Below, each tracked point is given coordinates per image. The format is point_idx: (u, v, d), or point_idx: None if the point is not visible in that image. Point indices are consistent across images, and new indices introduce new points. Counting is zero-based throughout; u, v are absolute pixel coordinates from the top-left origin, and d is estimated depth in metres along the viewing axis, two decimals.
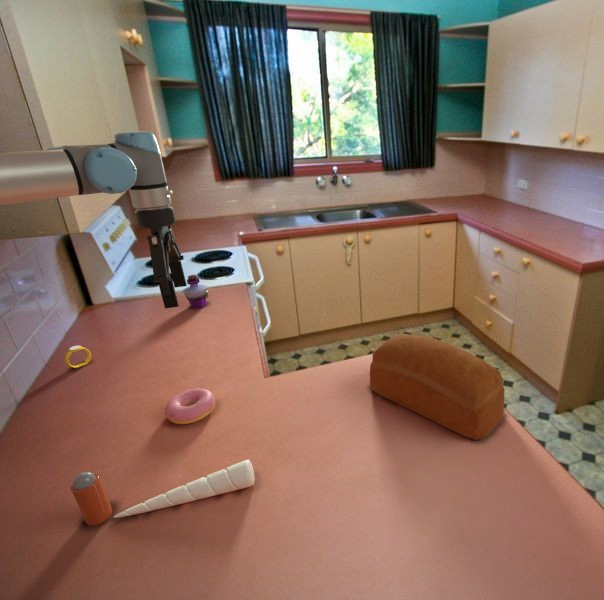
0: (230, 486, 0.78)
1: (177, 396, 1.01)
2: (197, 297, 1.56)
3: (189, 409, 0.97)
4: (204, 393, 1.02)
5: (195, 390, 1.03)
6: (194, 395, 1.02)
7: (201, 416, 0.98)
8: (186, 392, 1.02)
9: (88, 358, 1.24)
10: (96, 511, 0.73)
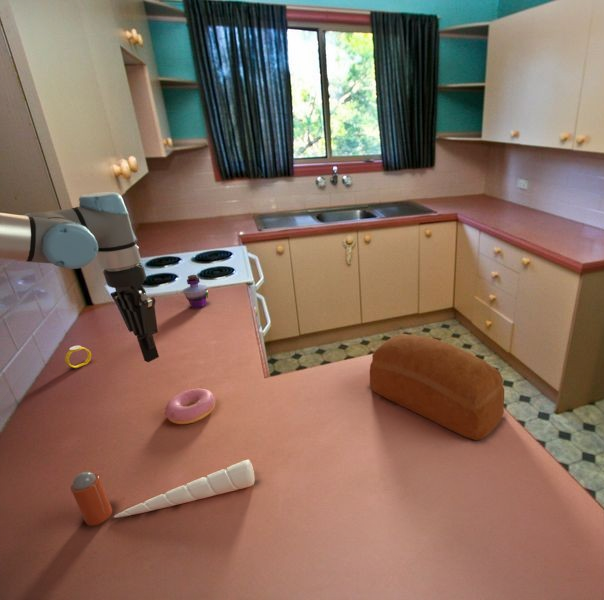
0: (230, 486, 0.78)
1: (177, 396, 1.01)
2: (197, 297, 1.56)
3: (189, 409, 0.97)
4: (204, 393, 1.02)
5: (195, 390, 1.03)
6: (194, 395, 1.02)
7: (201, 416, 0.98)
8: (186, 392, 1.02)
9: (88, 358, 1.24)
10: (96, 511, 0.73)
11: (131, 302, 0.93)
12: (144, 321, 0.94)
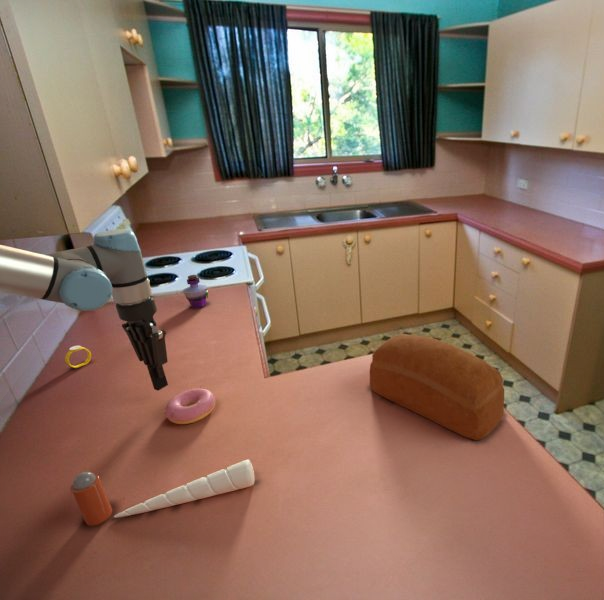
0: (230, 486, 0.78)
1: (177, 396, 1.01)
2: (197, 297, 1.56)
3: (189, 409, 0.96)
4: (204, 393, 1.02)
5: (195, 390, 1.03)
6: (194, 395, 1.02)
7: (201, 416, 0.98)
8: (186, 392, 1.02)
9: (88, 358, 1.24)
10: (96, 511, 0.73)
11: (142, 334, 0.96)
12: (155, 352, 0.97)
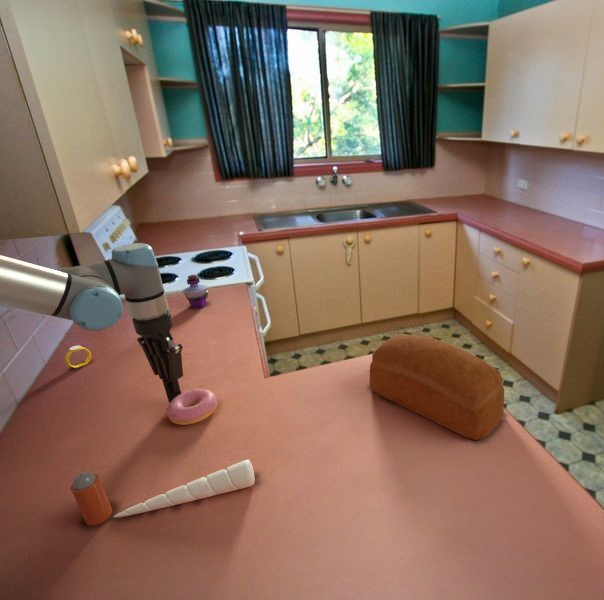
0: (230, 486, 0.78)
1: (179, 397, 1.01)
2: (197, 297, 1.56)
3: (191, 410, 0.96)
4: (206, 394, 1.01)
5: (197, 391, 1.03)
6: (196, 396, 1.02)
7: (203, 417, 0.97)
8: (188, 393, 1.02)
9: (88, 358, 1.24)
10: (96, 511, 0.73)
11: (158, 349, 0.95)
12: (171, 367, 0.96)
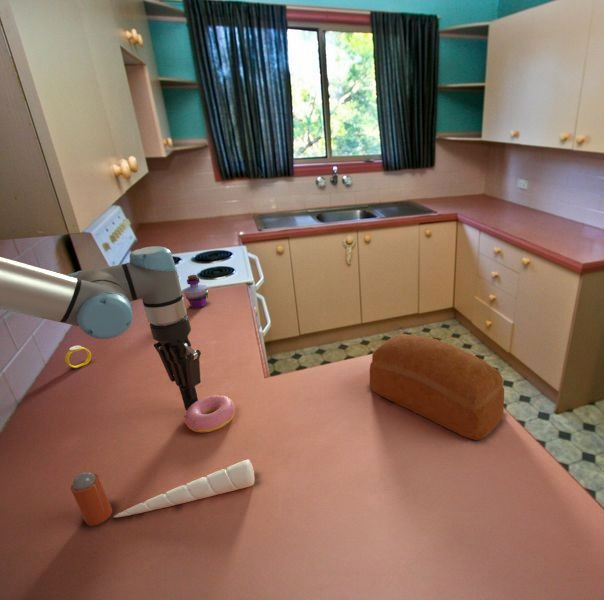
0: (230, 486, 0.78)
1: (196, 403, 0.98)
2: (197, 297, 1.56)
3: (210, 417, 0.94)
4: (224, 400, 0.99)
5: (214, 397, 1.00)
6: (213, 402, 1.00)
7: (222, 424, 0.95)
8: (205, 399, 1.00)
9: (88, 358, 1.24)
10: (96, 511, 0.73)
11: (176, 355, 0.92)
12: (189, 373, 0.94)
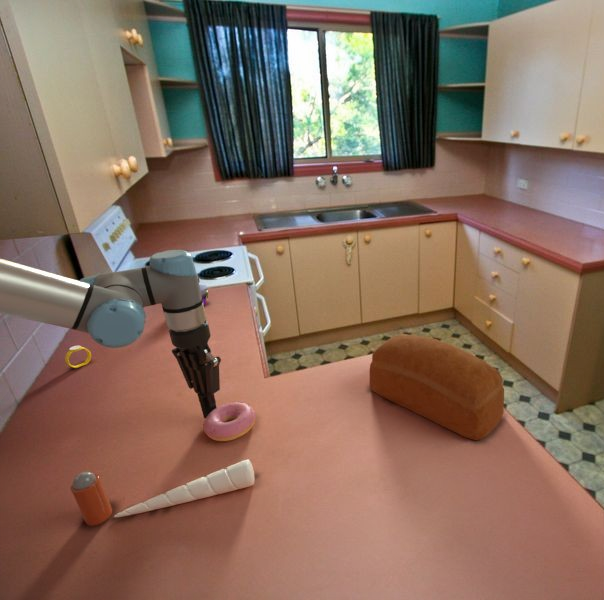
0: (230, 486, 0.78)
1: (215, 411, 0.95)
2: None
3: (231, 425, 0.91)
4: (243, 407, 0.96)
5: (233, 404, 0.97)
6: (233, 410, 0.97)
7: (243, 432, 0.92)
8: (224, 406, 0.97)
9: (88, 358, 1.24)
10: (96, 511, 0.73)
11: (196, 361, 0.90)
12: (208, 381, 0.91)
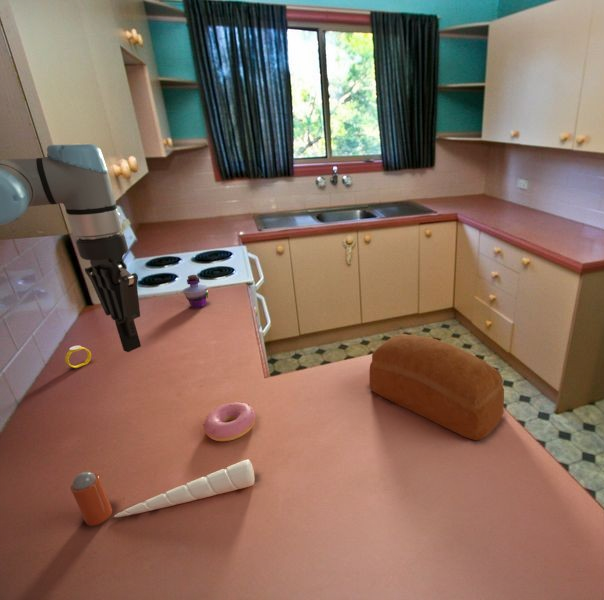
0: (230, 486, 0.78)
1: (215, 411, 0.95)
2: (197, 297, 1.56)
3: (231, 425, 0.91)
4: (244, 407, 0.96)
5: (233, 404, 0.97)
6: (233, 410, 0.97)
7: (243, 432, 0.92)
8: (224, 407, 0.97)
9: (88, 358, 1.24)
10: (96, 511, 0.73)
11: (109, 278, 0.78)
12: (124, 302, 0.79)
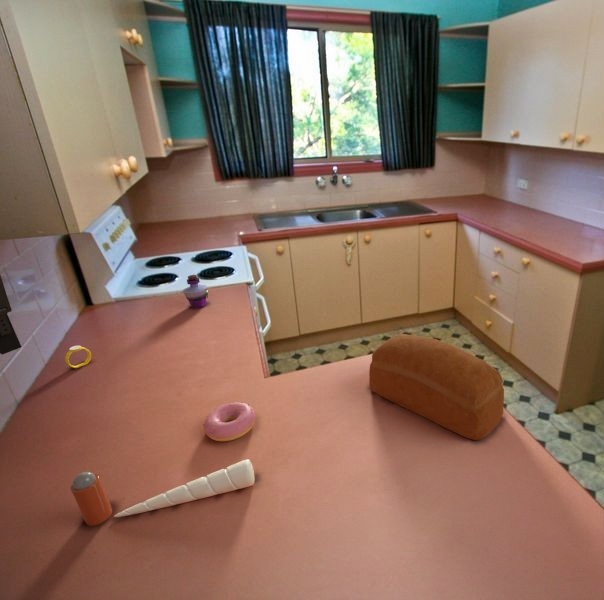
0: (230, 486, 0.78)
1: (215, 411, 0.95)
2: (197, 297, 1.56)
3: (231, 425, 0.91)
4: (244, 407, 0.96)
5: (233, 404, 0.97)
6: (233, 410, 0.97)
7: (243, 432, 0.92)
8: (224, 407, 0.97)
9: (88, 358, 1.24)
10: (96, 511, 0.73)
11: None
12: None
